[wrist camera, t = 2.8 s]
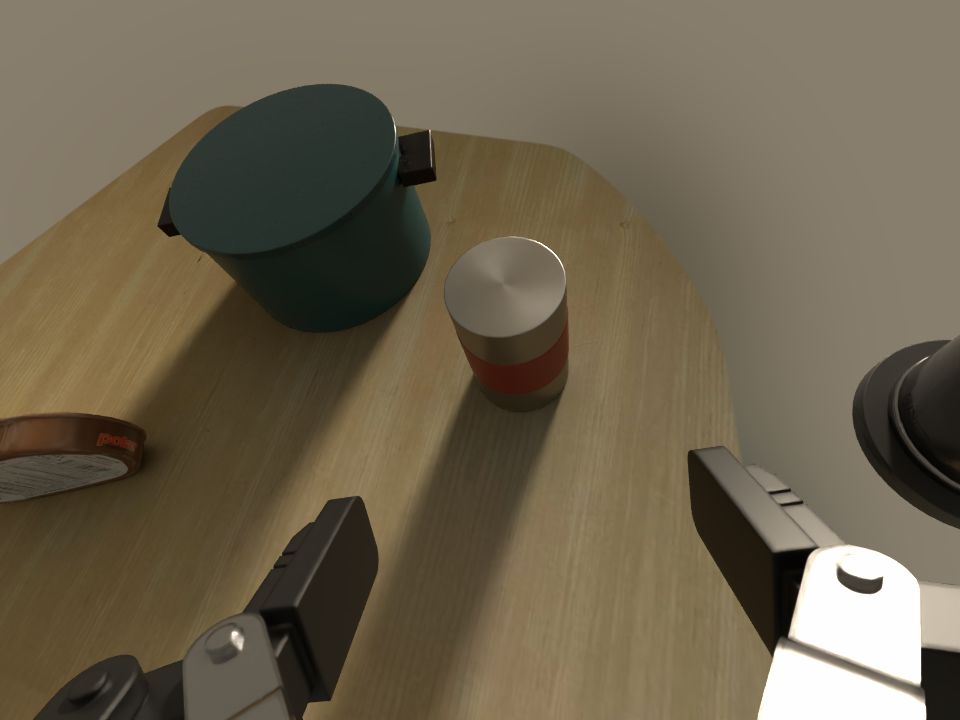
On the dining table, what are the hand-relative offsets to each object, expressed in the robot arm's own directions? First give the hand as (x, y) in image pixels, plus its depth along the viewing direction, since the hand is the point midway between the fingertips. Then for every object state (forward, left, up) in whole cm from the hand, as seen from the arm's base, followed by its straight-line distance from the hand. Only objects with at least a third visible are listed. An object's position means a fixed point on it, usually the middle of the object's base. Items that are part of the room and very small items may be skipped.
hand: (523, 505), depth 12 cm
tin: (+34, -10, -18) cm, 40 cm away
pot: (+14, -27, -18) cm, 35 cm away
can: (0, -13, -18) cm, 22 cm away
